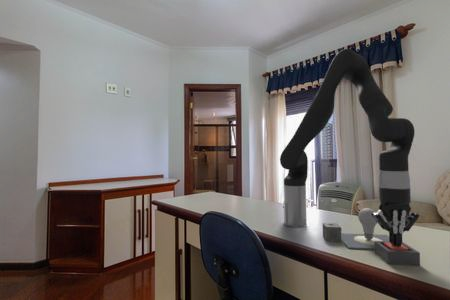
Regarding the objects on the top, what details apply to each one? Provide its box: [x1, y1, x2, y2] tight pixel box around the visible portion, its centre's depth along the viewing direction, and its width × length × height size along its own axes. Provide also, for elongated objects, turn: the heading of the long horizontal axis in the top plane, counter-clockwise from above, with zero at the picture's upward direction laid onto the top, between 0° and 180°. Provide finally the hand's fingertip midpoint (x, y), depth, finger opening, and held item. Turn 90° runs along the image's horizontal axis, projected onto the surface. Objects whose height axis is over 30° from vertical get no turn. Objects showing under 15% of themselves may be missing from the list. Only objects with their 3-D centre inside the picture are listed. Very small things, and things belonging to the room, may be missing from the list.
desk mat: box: [340, 232, 390, 251], centre depth 83 cm, size 18×14×1 cm
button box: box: [374, 241, 421, 266], centre depth 70 cm, size 8×8×4 cm
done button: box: [384, 242, 408, 251], centre depth 70 cm, size 4×4×2 cm
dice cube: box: [322, 222, 342, 242], centre depth 87 cm, size 5×5×5 cm
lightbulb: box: [357, 207, 378, 240], centre depth 83 cm, size 6×6×11 cm
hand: (395, 245), depth 70 cm, fingers closed
